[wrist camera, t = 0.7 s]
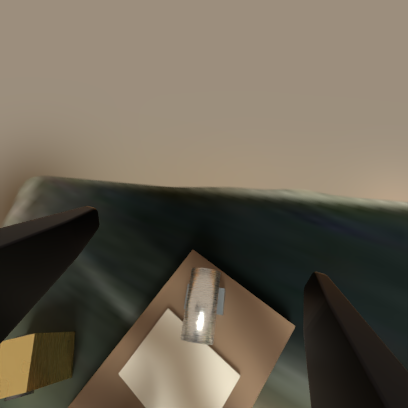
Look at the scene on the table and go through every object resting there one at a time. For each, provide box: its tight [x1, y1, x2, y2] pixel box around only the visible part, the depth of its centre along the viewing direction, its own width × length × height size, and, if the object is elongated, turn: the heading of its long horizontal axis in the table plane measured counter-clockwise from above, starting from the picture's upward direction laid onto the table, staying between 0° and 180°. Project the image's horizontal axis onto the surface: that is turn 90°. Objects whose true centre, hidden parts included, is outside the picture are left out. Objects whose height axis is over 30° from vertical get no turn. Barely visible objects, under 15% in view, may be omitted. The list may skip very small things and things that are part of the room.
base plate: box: [68, 250, 295, 408], centre depth 16 cm, size 17×11×6 cm, turn 142°
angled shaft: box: [181, 267, 226, 345], centre depth 18 cm, size 5×3×4 cm, turn 172°
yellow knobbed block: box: [0, 331, 75, 401], centre depth 18 cm, size 4×5×5 cm
